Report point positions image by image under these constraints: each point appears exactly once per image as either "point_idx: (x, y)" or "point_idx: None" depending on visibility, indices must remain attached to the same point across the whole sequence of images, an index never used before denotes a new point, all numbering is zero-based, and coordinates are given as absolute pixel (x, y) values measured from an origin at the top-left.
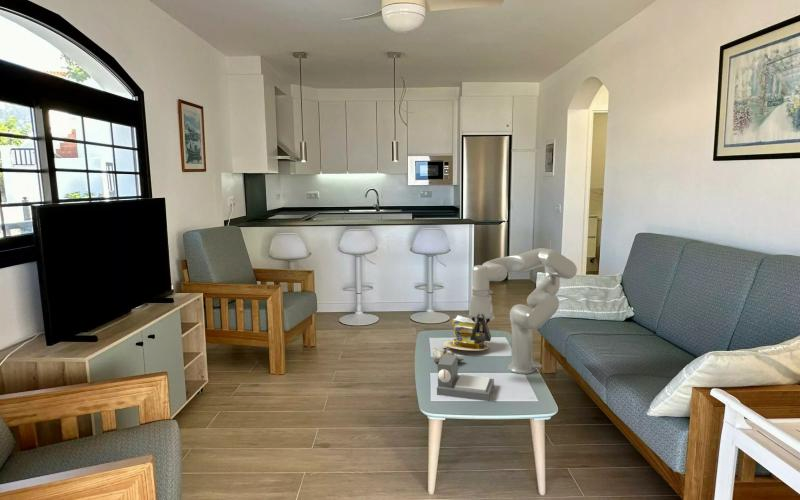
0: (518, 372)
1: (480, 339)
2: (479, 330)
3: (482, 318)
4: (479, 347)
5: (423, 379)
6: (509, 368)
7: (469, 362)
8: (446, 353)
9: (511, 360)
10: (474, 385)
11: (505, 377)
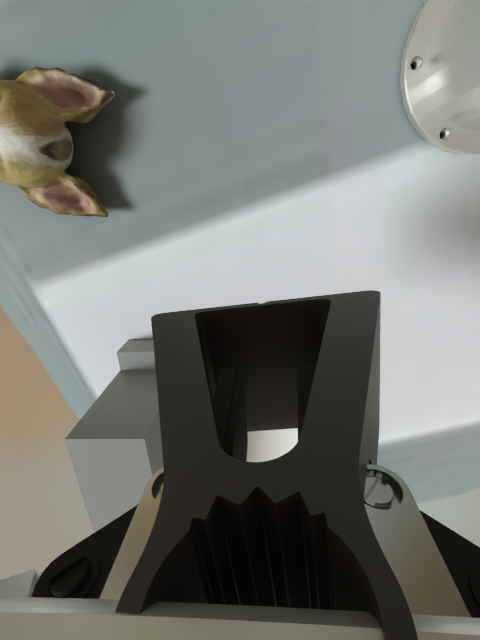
0: (464, 153)
1: (275, 417)
2: (243, 388)
3: (304, 566)
4: None
5: (46, 360)
6: (413, 116)
7: (150, 63)
8: (4, 166)
9: (448, 64)
10: (275, 451)
11: (385, 228)
